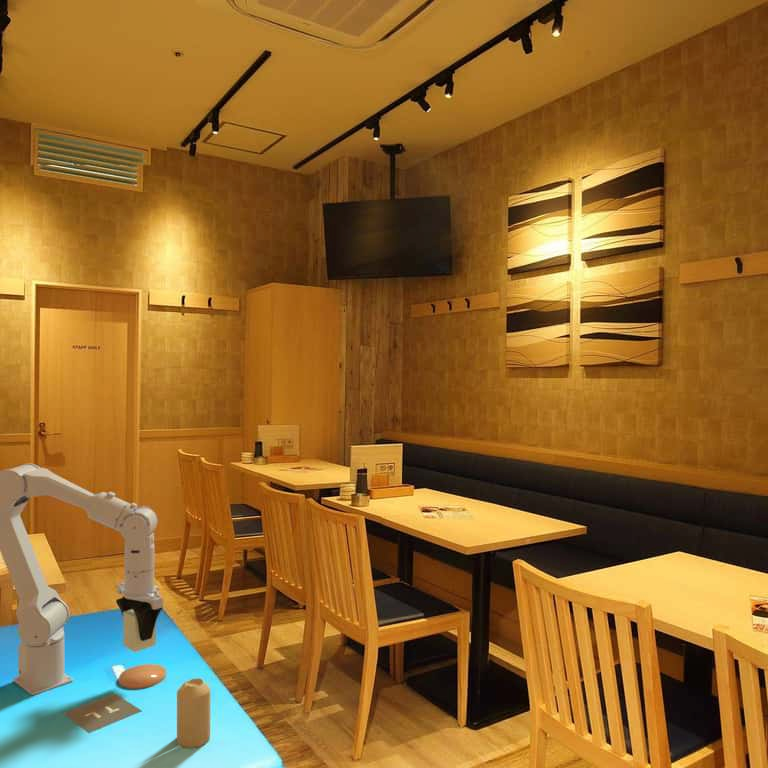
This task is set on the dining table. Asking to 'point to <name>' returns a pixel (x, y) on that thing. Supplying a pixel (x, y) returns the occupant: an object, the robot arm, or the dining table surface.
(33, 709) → the dining table surface
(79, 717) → the brown tile
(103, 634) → the dining table surface
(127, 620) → the block
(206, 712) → the candle
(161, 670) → the orange disc
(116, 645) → the dining table surface
